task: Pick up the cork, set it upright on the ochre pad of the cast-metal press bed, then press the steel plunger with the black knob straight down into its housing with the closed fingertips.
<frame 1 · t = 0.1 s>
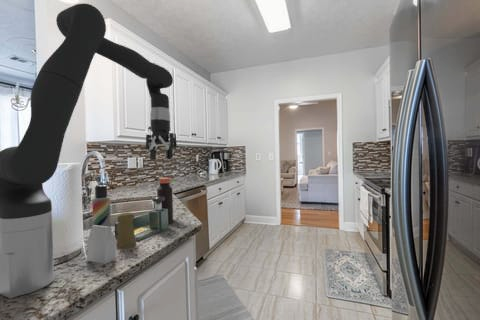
hand: (161, 159, 95), 29 cm above the counter, fingers open, 8 cm apart
lotion bottle: (102, 238, 86), on the counter
press: (143, 231, 93), on the counter
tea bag: (101, 260, 68), on the counter
ram: (158, 207, 96), point 9 cm above the counter, slide at 0.0 cm
cork: (126, 245, 80), on the counter
vinegar: (165, 221, 108), on the counter
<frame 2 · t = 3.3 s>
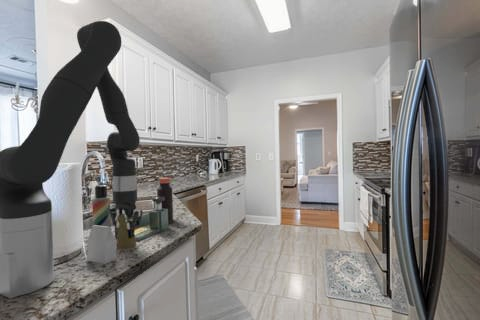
hand: (126, 238, 80), 2 cm above the counter, fingers closed on cork, 3 cm apart
cork: (126, 245, 80), on the counter, touching gripper
everything else where it was.
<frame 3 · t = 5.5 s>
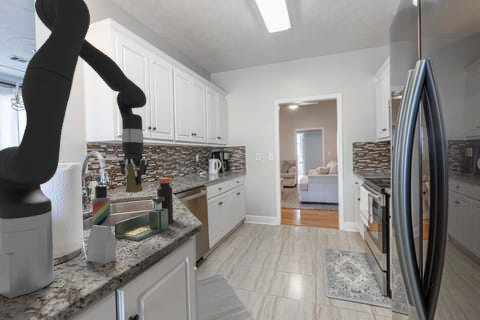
hand: (134, 185, 90), 19 cm above the counter, fingers closed on cork, 3 cm apart
cork: (134, 191, 90), point 17 cm above the counter, touching gripper
everything else where it was.
when the fingers open (5 cm above the counter, at t = 7.9 s): cork drops 1 cm, resting on press.
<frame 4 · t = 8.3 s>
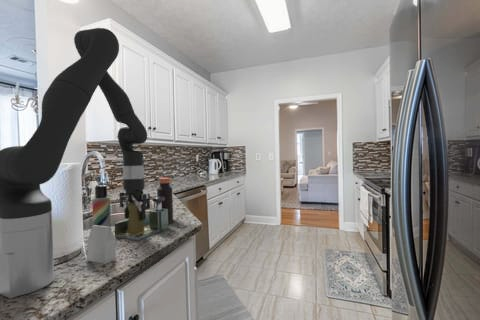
hand: (134, 219, 90), 6 cm above the counter, fingers open, 7 cm apart
cork: (135, 231, 90), point 1 cm above the counter, touching press
everything else where it was.
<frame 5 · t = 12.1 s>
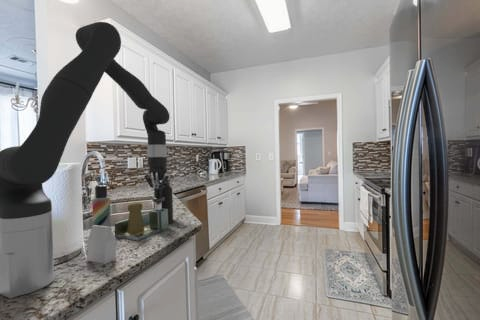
hand: (158, 197, 95), 13 cm above the counter, fingers closed
ram: (158, 207, 96), point 9 cm above the counter, slide at 0.1 cm, touching gripper
everything else where it was.
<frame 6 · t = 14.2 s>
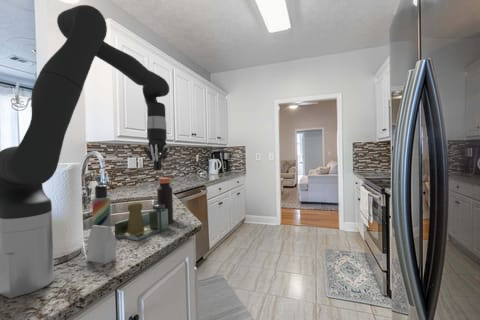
hand: (157, 170, 95), 24 cm above the counter, fingers closed
ram: (158, 214, 96), point 6 cm above the counter, slide at 3.1 cm
everything else where it was.
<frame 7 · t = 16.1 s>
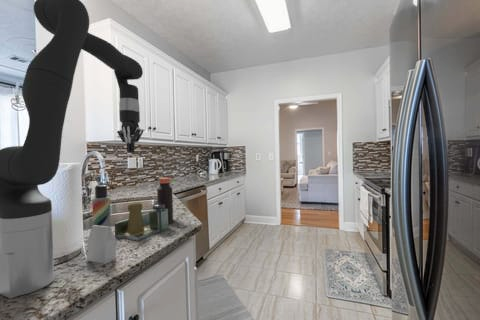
hand: (130, 152, 96), 32 cm above the counter, fingers closed
nothing on the counter moved.
at the end: cork inside the target area on the press (0.4 cm from its centre), point 1.2 cm above the press's base; cork tilted 0°; ram slide at 3.1 cm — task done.
